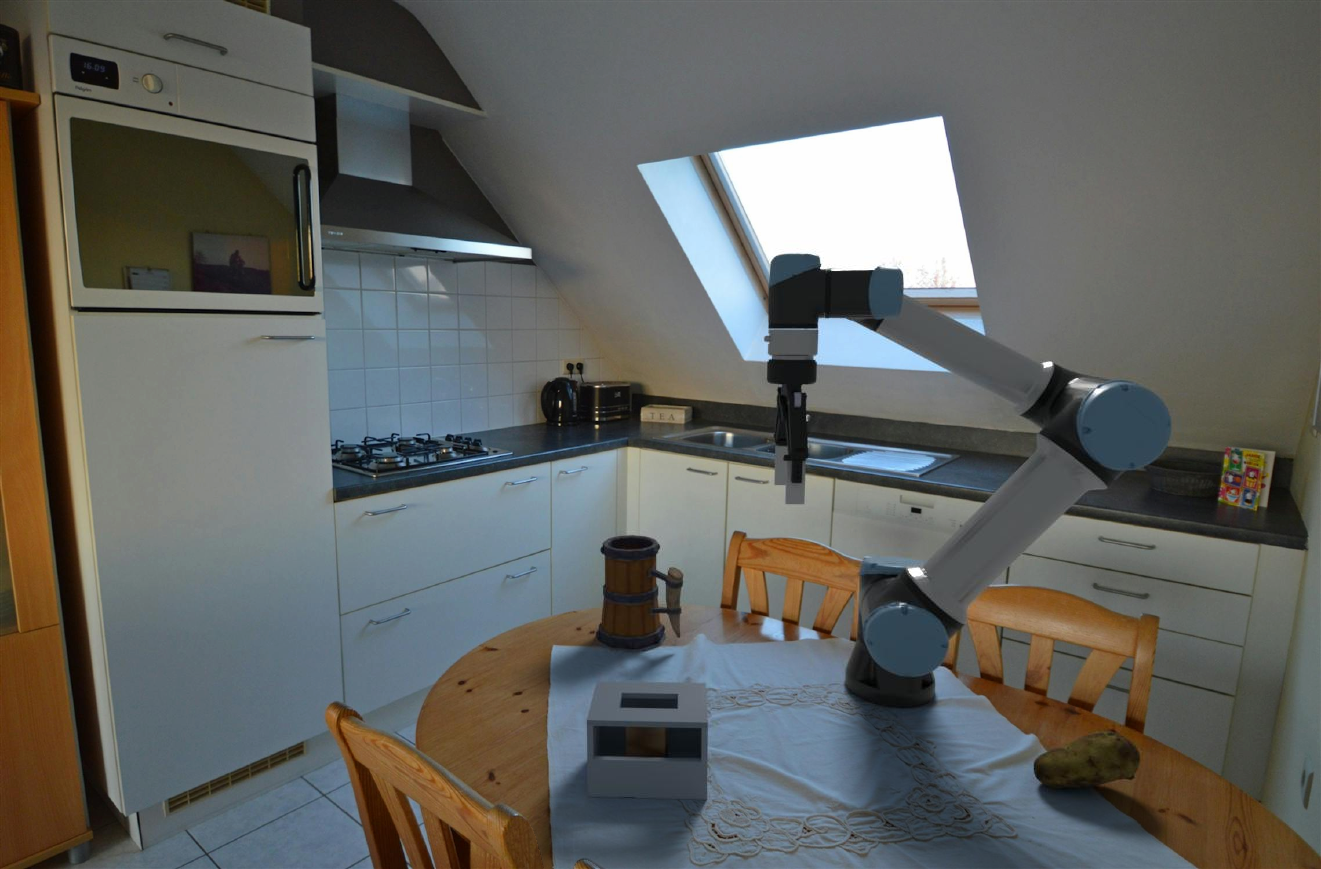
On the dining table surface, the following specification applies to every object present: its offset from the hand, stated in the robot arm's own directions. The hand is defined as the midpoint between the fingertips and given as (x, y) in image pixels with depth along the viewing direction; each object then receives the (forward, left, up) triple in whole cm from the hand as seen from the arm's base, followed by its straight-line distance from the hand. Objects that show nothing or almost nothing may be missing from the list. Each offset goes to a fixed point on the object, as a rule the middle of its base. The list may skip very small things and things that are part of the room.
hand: (788, 493), depth 116 cm
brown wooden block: (+21, +17, -36) cm, 45 cm away
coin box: (+21, +18, -37) cm, 46 cm away
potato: (-39, +18, -37) cm, 57 cm away
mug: (+25, -28, -37) cm, 53 cm away
